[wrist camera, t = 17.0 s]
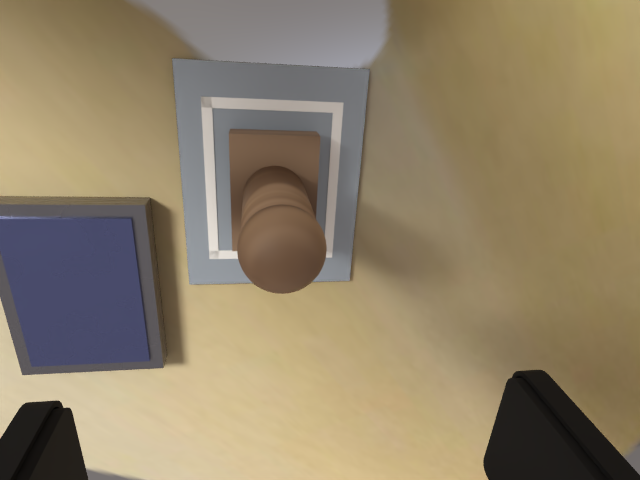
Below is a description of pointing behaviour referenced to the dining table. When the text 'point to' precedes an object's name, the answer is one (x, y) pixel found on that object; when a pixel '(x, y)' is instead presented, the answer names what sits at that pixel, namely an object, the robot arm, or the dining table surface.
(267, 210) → the stamp
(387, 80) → the dining table surface
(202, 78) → the stamp card
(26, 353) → the ink pad
